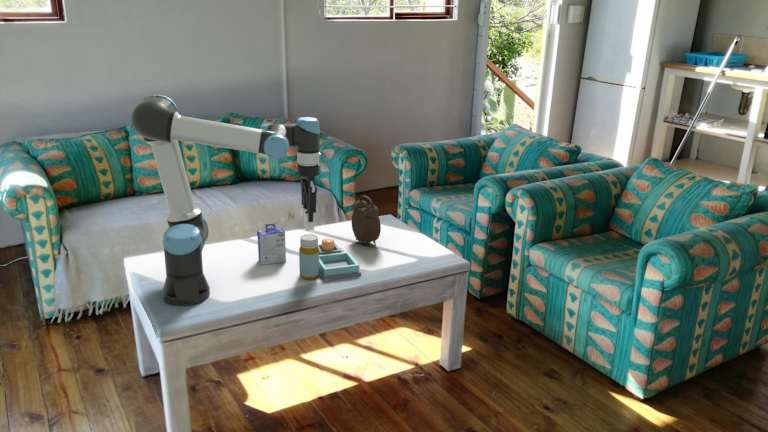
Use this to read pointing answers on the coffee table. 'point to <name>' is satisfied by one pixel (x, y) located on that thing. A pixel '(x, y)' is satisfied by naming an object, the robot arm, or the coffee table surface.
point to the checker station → (337, 264)
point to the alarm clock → (365, 221)
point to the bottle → (309, 257)
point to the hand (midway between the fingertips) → (308, 228)
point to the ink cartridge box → (271, 245)
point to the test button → (327, 244)
